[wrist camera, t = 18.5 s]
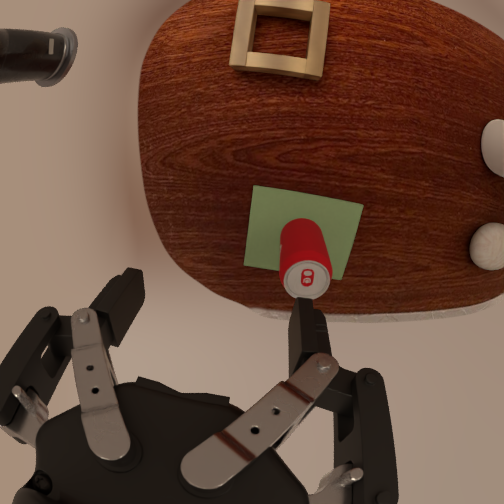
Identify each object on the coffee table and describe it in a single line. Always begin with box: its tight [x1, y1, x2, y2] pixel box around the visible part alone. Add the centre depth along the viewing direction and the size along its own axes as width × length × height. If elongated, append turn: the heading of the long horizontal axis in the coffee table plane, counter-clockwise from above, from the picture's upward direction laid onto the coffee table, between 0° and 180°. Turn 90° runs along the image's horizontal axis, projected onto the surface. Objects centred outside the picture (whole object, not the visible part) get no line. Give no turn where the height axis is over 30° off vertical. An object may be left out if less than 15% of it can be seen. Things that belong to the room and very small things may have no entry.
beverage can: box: [279, 218, 333, 299], centre depth 35 cm, size 6×6×12 cm
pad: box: [244, 185, 364, 280], centre depth 41 cm, size 16×13×1 cm
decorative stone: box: [470, 223, 504, 270], centre depth 34 cm, size 13×9×5 cm
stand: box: [229, 0, 330, 81], centre depth 26 cm, size 11×11×4 cm
